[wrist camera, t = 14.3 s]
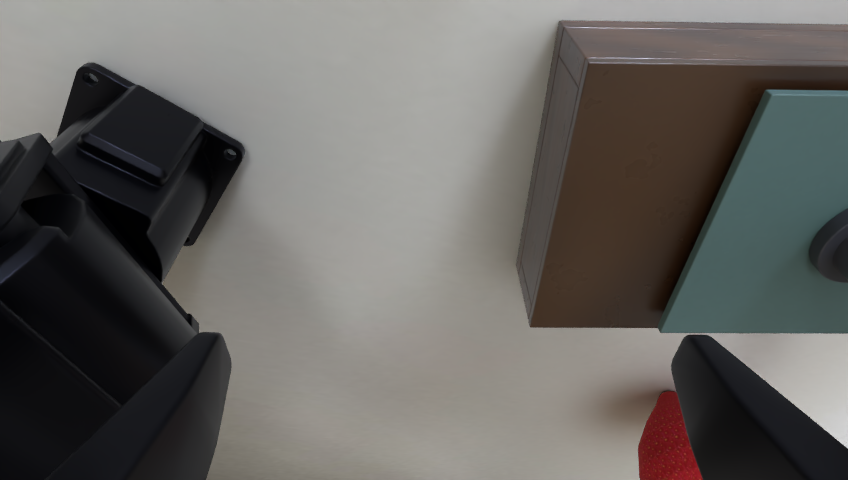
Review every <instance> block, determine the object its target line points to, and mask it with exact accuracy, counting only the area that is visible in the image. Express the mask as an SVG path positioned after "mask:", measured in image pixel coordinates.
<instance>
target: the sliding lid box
mask: <svg viewBox="0 0 848 480" xmlns="http://www.w3.org/2000/svg"><path fill="white" fill-rule="evenodd" d="M765 90H841V91H848V25H828V24H759V23H689V22H620V21H559V25H558V30H557V36H556V42H555V47H554V53H553V59H552V64H551V70H550V76H549V81H548V87H547V93H546V98H545V104H544V110H543V115H542V121H541V127H540V132H539V138H538V144H537V150H536V155H535V161H534V167H533V172H532V178H531V184H530V189H529V195H528V201H527V206H526V212H525V218H524V223H523V229H522V235H521V240H520V246H519V252H518V257H517V263H516V266H517V271H518V275H519V279H520V284H521V288H522V293H523V297H524V302H525V306H526V311H527V315H528V319H529V325H530V327H543V328H658V327H657V326H658V323H659V321H660V319H661V317H662V315H663V312H664V310H665V308H666V306H667V304H668V301H669V299H670V297H671V295H672V293H673V291H674V288H675V286H676V284H677V282H678V280H679V277H680V275H681V273H682V271H683V269H684V267H685V264H686V262H687V260H688V258H689V256H690V253H691V251H692V249H693V247H694V245H695V242H696V240H697V238H698V236H699V234H700V232H701V229H702V227H703V225H704V223H705V221H706V218H707V216H708V214H709V212H710V210H711V208H712V205H713V203H714V201H715V199H716V197H717V194H718V192H719V190H720V188H721V186H722V183H723V181H724V179H725V177H726V175H727V173H728V170H729V168H730V166H731V164H732V162H733V159H734V157H735V155H736V153H737V151H738V149H739V146H740V144H741V142H742V140H743V138H744V135H745V133H746V131H747V129H748V127H749V124H750V122H751V120H752V118H753V116H754V114H755V111H756V109H757V107H758V105H759V103H760V100H761V98H762V96H763V94H764V92H765Z"/></svg>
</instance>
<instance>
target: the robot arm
mask: <svg viewBox="0 0 848 480" xmlns="http://www.w3.org/2000/svg"><path fill="white" fill-rule="evenodd" d="M89 73H91V74H93V75H94V76H96V78H97V79H98V82H96V81H94V80H92V79H91V78H90V76H89ZM227 149H231V150H233V151H234V152H235V153H236V155H231V154H230V153H228V151H227ZM244 154H245V149H244V147H243V145H242V144H241V143H239V142H238V141H236V140H235V139H233V138H231V137H229V136H227V135H226V134H224V133H222V132H220V131H218V130H217V129H215V128H213V127H211V126H209V125H207V124H206V123H204V122H202V121H201V120H200V119H199V118H198V117H196V116H194V115H192V114H191V113H189V112H187V111H185V110H183V109H182V108H180V107H178V106H176V105H174V104H173V103H171V102H169V101H167V100H165V99H163V98H162V97H160V96H158V95H156V94H154V93H153V92H151V91H149V90H147V89H145V88H144V87H142V86H139V85H138V86H137V85H135V84H133V83H131V82H129V81H128V80H126V79H124V78H122V77H120V76H119V75H117V74H115V73H113V72H111V71H109V70H108V69H106V68H104V67H102V66H100V65H98V64H96V63H87V64H84V65H83V66H82V67H80V68H79V69H78V71H77V72H76V76H75V79H74V82H73V86H72V89H71V92H70V95H69V99H68V102H67V105H66V109H65V112H64V115H63V118H62V122H61V125H60V128H59V132H58V135H57V138H56V139H55V140H54V141H52V142H51V143H50V144H49V143H48V142H47V140H46V139H45V138H44V137H43V136H42V134H41V133H36V134H33V135H29V136H26V137H22V138H19V139H15V140H10V141H4V142H1V141H0V480H206V477H207V474H208V471H209V468H210V465H211V462H212V458H213V455H214V451H215V448H216V444H217V440H218V435H219V430H220V425H221V420H222V415H223V410H224V404H225V399H226V394H227V389H228V384H229V379H230V373H231V358H230V355H229V352H228V349H227V346H226V343H225V341H224V338H223V336H222V335H221V334H220V333H217V332H202V333H199V323H198V322H197V321H196V320H195V318H194V317H193V316H192V315H191V314H187V313H186V312H185V311H184V310H183V308H182V307H181V306H180V305H179V304H178V302H177V301H176V300H175V299H174V298H173V297H172V295H171V294H170V293H169V292H168V291H167V289H166V288H165V287H164V286H163V285H162V282H163V281H164V279H165V277H166V275H167V273H168V272H169V270H170V268H171V266H172V264H173V263H174V261H175V259H176V257H177V255H178V253H179V252H180V250H181V248H182V246H191V245H193V244H194V243H195V241H196V239H197V238H198V236H199V234H200V232H201V231H202V229H203V227H204V225H205V224H206V222H207V220H208V219H209V217H210V215H211V213H212V212H213V210H214V208H215V206H216V205H217V203H218V201H219V199H220V198H221V196H222V194H223V192H224V191H225V189H226V187H227V185H228V184H229V182H230V180H231V178H232V177H233V175H234V173H235V171H236V170H237V168H238V166H239V164H240V163H241V161H242V159H243V157H244ZM188 236H189V237H188ZM671 371H672V376H673V380H674V383H675V387H676V391H677V395H678V399H679V403H680V407H681V411H682V415H683V419H684V423H685V427H686V431H687V435H688V438H689V442H690V445H691V448H692V451H693V454H694V457H695V460H696V462H697V465H698V468H699V471H700V473H701V476H702V479H703V480H848V449H847V448H846V447H845V446H844V445H842V444H841V443H840V442H839V441H838V440H836V439H835V438H834V437H833V436H832V435H830V434H829V433H828V432H827V431H825V430H824V429H823V428H822V427H821V426H819V425H818V424H817V423H816V422H814V421H813V420H812V419H811V418H810V417H808V416H807V415H806V414H805V413H803V412H802V411H801V410H800V409H799V408H797V407H796V406H795V405H794V404H792V403H791V402H790V401H789V400H788V399H786V398H785V397H784V396H783V395H781V394H780V393H779V392H778V391H777V390H775V389H774V388H773V387H772V386H770V385H769V384H768V383H767V382H766V381H764V380H763V379H762V378H761V377H760V376H758V375H757V374H756V373H755V372H753V371H752V370H751V369H750V368H749V367H747V366H746V365H745V364H744V363H742V362H741V361H740V360H739V359H738V358H736V357H735V356H734V355H733V354H731V353H730V352H729V351H728V350H727V349H725V348H724V347H723V346H722V345H720V344H719V343H718V342H717V341H716V340H714V339H713V338H712V337H710V336H708V335H687V336H686V337H684V339H683V340H682V342H681V344H680V346H679V348H678V350H677V352H676V354H675V356H674V358H673V360H672V364H671Z"/></svg>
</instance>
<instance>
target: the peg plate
mask: <svg viewBox="0 0 848 480" xmlns="http://www.w3.org/2000/svg"><path fill="white" fill-rule="evenodd" d="M657 327H658V329H659V331H660V333H848V91H841V90H765V92H764V94H763V96H762V98H761V100H760V103H759V105H758V107H757V109H756V111H755V114H754V116H753V118H752V120H751V122H750V124H749V127H748V129H747V131H746V133H745V135H744V138H743V140H742V142H741V144H740V146H739V149H738V151H737V153H736V155H735V157H734V159H733V162H732V164H731V166H730V168H729V170H728V173H727V175H726V177H725V179H724V181H723V183H722V186H721V188H720V190H719V192H718V194H717V197H716V199H715V201H714V203H713V205H712V208H711V210H710V212H709V214H708V216H707V218H706V221H705V223H704V225H703V227H702V229H701V232H700V234H699V236H698V238H697V240H696V242H695V245H694V247H693V249H692V251H691V253H690V256H689V258H688V260H687V262H686V264H685V267H684V269H683V271H682V273H681V275H680V277H679V280H678V282H677V284H676V286H675V288H674V291H673V293H672V295H671V297H670V299H669V301H668V304H667V306H666V308H665V310H664V312H663V315H662V317H661V319H660V321H659V323H658V326H657Z"/></svg>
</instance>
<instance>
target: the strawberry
mask: <svg viewBox="0 0 848 480" xmlns="http://www.w3.org/2000/svg"><path fill="white" fill-rule="evenodd" d="M638 457H639V477H640V480H703V479H702V476H701V473H700V471H699V468H698V465H697V462H696V460H695V457H694V454H693V451H692V448H691V445H690V442H689V438H688V435H687V431H686V427H685V423H684V419H683V415H682V411H681V407H680V403H679V399H678V395H677V392H673V391H666V392H664V393H662V394H661V395H660V396H659V398H658V400H657V404H656V406H655V408H654V410H653V411H652V413H651V415H650V416H649V418H648V420H647V422H646V425H645V428H644V431H643V434H642V437H641V440H640V443H639V446H638Z"/></svg>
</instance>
